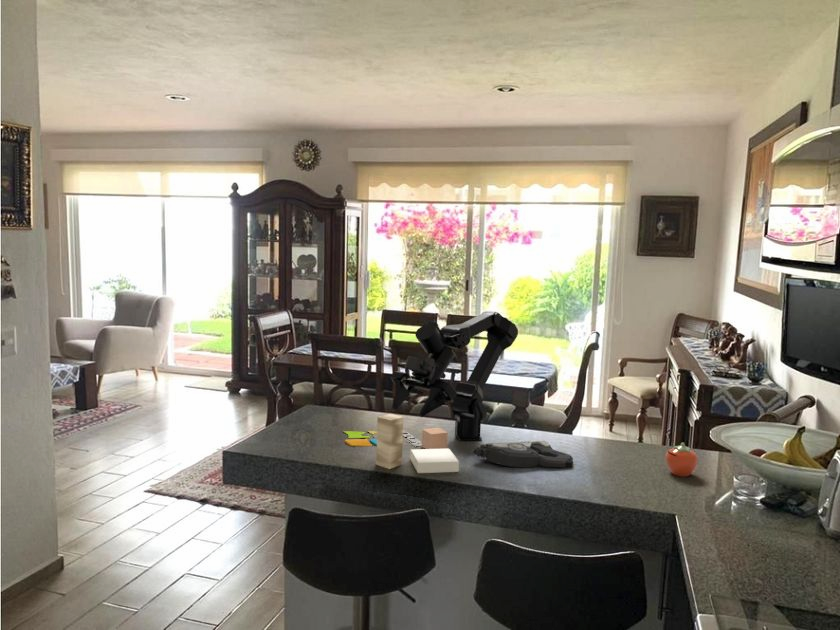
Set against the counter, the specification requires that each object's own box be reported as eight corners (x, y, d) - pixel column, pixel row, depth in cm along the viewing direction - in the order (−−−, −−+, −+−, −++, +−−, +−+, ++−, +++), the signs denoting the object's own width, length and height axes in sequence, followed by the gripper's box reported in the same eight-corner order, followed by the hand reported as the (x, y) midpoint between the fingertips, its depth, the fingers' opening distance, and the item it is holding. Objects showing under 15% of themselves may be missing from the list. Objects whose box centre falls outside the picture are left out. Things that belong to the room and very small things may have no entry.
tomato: (658, 469, 153) (660, 438, 152) (685, 468, 154) (688, 437, 153) (674, 479, 145) (677, 447, 145) (703, 479, 146) (705, 447, 146)
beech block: (388, 460, 152) (390, 413, 151) (401, 464, 149) (403, 417, 148) (376, 464, 149) (377, 416, 148) (389, 469, 146) (390, 420, 145)
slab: (448, 459, 155) (449, 448, 155) (458, 473, 146) (459, 461, 145) (410, 461, 153) (410, 449, 153) (417, 474, 144) (418, 462, 143)
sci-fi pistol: (582, 455, 152) (546, 434, 166) (500, 461, 142) (469, 438, 155) (579, 472, 153) (544, 450, 166) (497, 479, 142) (466, 454, 156)
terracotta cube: (438, 445, 166) (438, 427, 166) (446, 450, 162) (447, 432, 161) (421, 447, 164) (422, 429, 163) (430, 452, 159) (430, 434, 159)
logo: (426, 444, 165) (357, 451, 156) (426, 447, 165) (357, 455, 156) (394, 422, 185) (331, 427, 177) (394, 425, 185) (331, 431, 177)
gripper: (396, 340, 161) (365, 386, 154) (451, 349, 149) (420, 399, 141) (414, 367, 168) (385, 412, 160) (469, 377, 155) (440, 426, 148)
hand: (406, 412), depth 152 cm, fingers open, 9 cm apart
